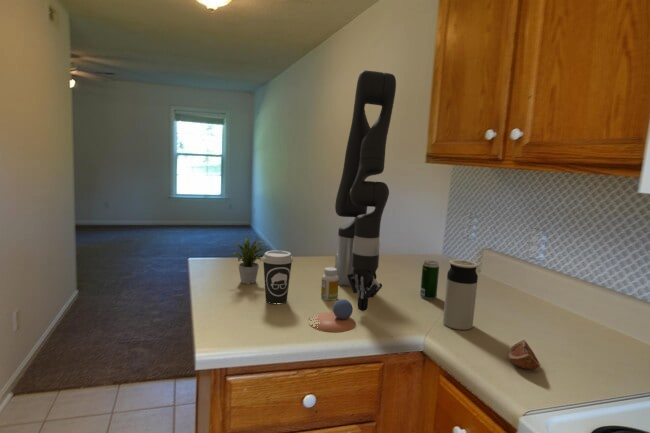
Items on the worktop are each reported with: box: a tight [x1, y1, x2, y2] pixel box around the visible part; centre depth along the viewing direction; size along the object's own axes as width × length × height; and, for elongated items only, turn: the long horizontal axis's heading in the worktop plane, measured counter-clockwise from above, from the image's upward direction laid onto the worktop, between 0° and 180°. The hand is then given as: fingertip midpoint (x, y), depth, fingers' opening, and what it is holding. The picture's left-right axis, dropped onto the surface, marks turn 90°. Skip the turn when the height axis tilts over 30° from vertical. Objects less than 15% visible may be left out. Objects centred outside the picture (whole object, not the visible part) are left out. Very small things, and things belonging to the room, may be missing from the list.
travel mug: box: [442, 258, 479, 331], centre depth 117 cm, size 8×8×18 cm
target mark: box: [308, 312, 356, 333], centre depth 116 cm, size 13×13×1 cm
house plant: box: [231, 235, 271, 284], centre depth 145 cm, size 14×14×16 cm
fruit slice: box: [507, 339, 541, 370], centre depth 95 cm, size 8×7×5 cm
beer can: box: [419, 259, 440, 301], centre depth 140 cm, size 5×5×12 cm
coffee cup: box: [261, 250, 294, 305], centre depth 129 cm, size 10×10×15 cm
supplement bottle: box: [320, 266, 339, 301], centre depth 134 cm, size 5×5×10 cm
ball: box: [332, 299, 354, 319], centre depth 118 cm, size 6×6×6 cm
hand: (362, 309), depth 122 cm, fingers closed
